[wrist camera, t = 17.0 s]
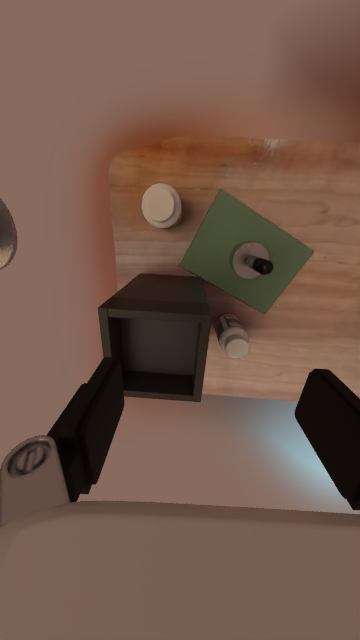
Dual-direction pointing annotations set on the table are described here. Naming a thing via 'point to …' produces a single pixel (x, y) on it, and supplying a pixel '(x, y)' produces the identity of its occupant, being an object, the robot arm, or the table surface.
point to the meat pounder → (250, 260)
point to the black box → (158, 336)
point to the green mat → (232, 229)
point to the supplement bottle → (162, 206)
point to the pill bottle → (232, 336)
